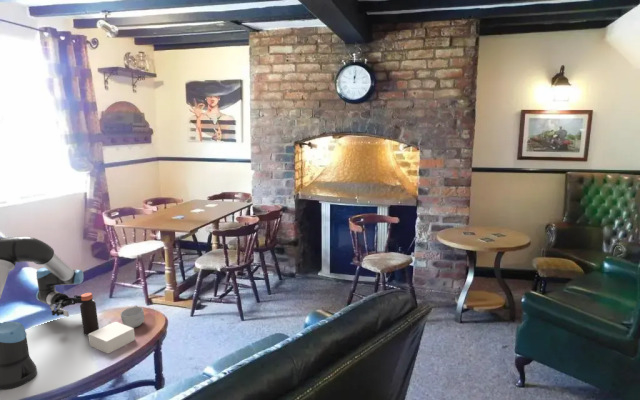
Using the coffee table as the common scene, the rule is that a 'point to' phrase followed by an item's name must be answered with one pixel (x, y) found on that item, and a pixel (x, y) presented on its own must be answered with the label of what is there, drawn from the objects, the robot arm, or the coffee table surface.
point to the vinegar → (88, 314)
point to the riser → (111, 337)
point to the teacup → (132, 316)
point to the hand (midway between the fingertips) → (81, 308)
